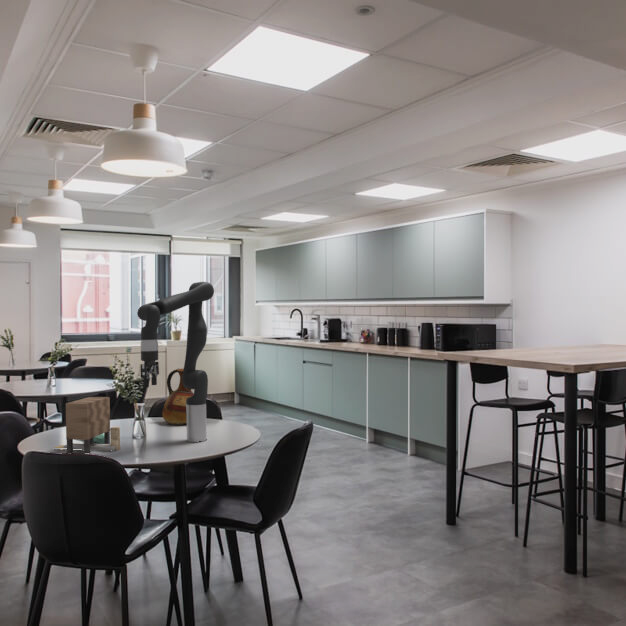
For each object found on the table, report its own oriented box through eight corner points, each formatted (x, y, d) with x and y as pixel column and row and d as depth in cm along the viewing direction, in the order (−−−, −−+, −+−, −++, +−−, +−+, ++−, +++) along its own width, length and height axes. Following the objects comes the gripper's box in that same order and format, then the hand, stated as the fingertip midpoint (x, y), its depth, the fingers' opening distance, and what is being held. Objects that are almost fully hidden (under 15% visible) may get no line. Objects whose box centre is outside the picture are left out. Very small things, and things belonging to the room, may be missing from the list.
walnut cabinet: (90, 444, 288) (89, 396, 288) (110, 444, 287) (109, 397, 286) (66, 454, 268) (65, 403, 268) (88, 454, 267) (87, 403, 267)
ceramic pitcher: (194, 426, 329) (193, 370, 329) (157, 426, 331) (156, 370, 331) (203, 420, 349) (203, 366, 349) (168, 420, 350) (167, 367, 350)
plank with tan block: (69, 447, 282) (69, 425, 281) (121, 448, 278) (120, 426, 278) (63, 450, 277) (63, 427, 277) (116, 451, 273) (115, 428, 273)
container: (109, 431, 288) (83, 424, 305) (98, 438, 284) (72, 430, 301) (113, 442, 290) (87, 434, 307) (102, 449, 286) (77, 441, 303)
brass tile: (59, 448, 282) (59, 445, 282) (69, 448, 282) (69, 445, 282) (53, 451, 277) (53, 447, 277) (63, 451, 277) (63, 447, 277)
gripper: (150, 350, 268) (151, 388, 268) (163, 348, 282) (164, 384, 282) (134, 351, 269) (135, 388, 270) (148, 348, 284) (148, 384, 284)
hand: (150, 386), depth 276 cm, fingers open, 8 cm apart
